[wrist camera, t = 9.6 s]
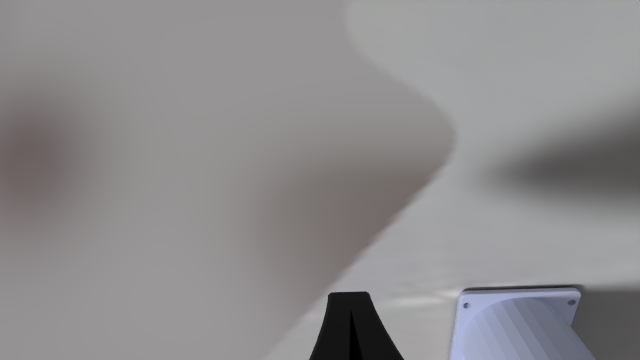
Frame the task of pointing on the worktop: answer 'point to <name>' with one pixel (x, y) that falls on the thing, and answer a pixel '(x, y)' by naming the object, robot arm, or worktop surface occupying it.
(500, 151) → the worktop surface
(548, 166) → the worktop surface
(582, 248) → the worktop surface
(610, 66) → the worktop surface
